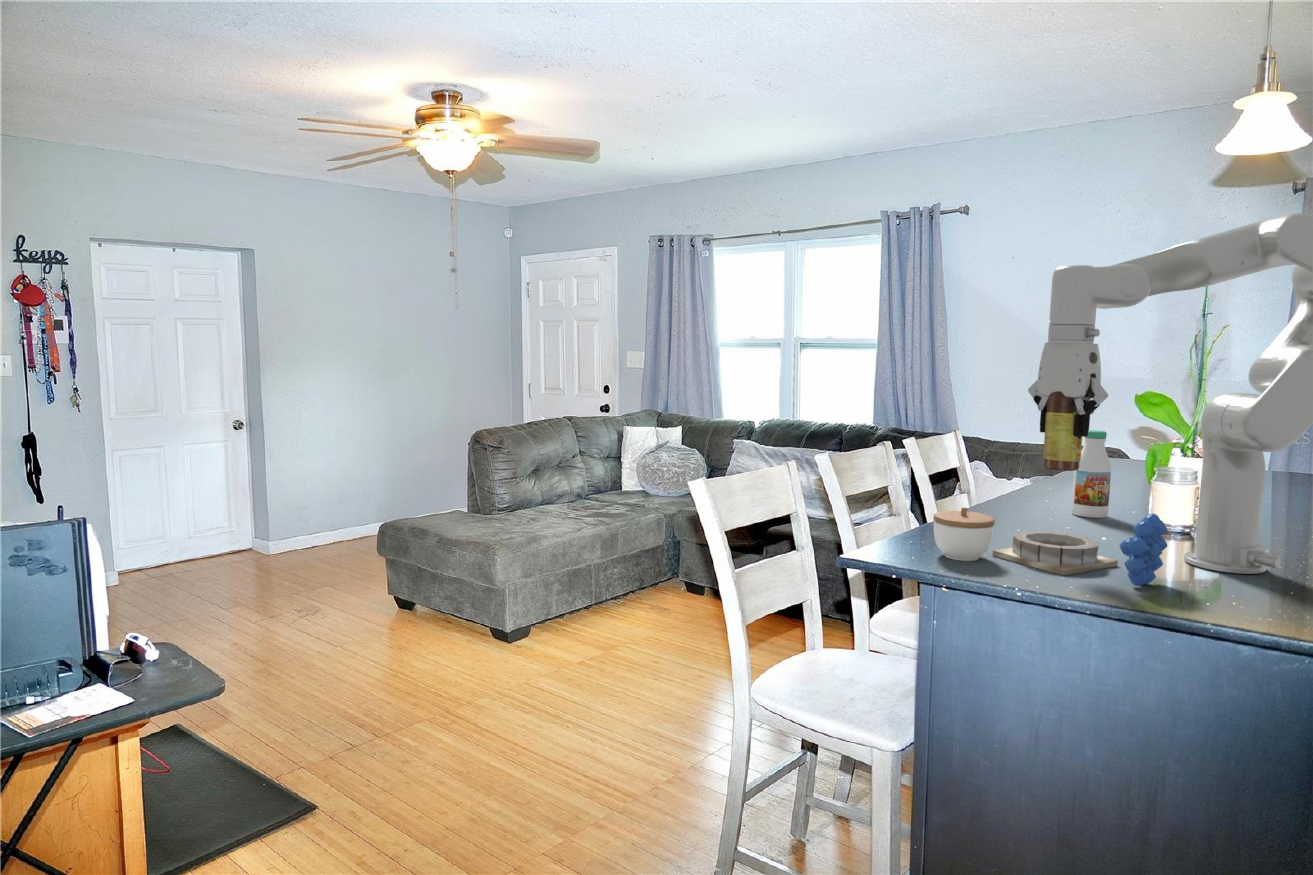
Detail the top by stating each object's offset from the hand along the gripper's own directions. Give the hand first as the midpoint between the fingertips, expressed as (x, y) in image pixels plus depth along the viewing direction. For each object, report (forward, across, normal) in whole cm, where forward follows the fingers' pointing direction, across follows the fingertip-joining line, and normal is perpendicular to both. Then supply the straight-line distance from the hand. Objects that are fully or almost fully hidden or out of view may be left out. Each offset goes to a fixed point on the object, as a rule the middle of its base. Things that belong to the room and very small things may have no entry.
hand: (1063, 433), depth 156 cm
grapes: (+24, -17, 0) cm, 29 cm away
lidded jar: (+24, +9, +14) cm, 29 cm away
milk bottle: (+24, +24, -44) cm, 55 cm away
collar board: (+24, -1, +1) cm, 24 cm away
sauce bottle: (+7, 0, 0) cm, 7 cm away
